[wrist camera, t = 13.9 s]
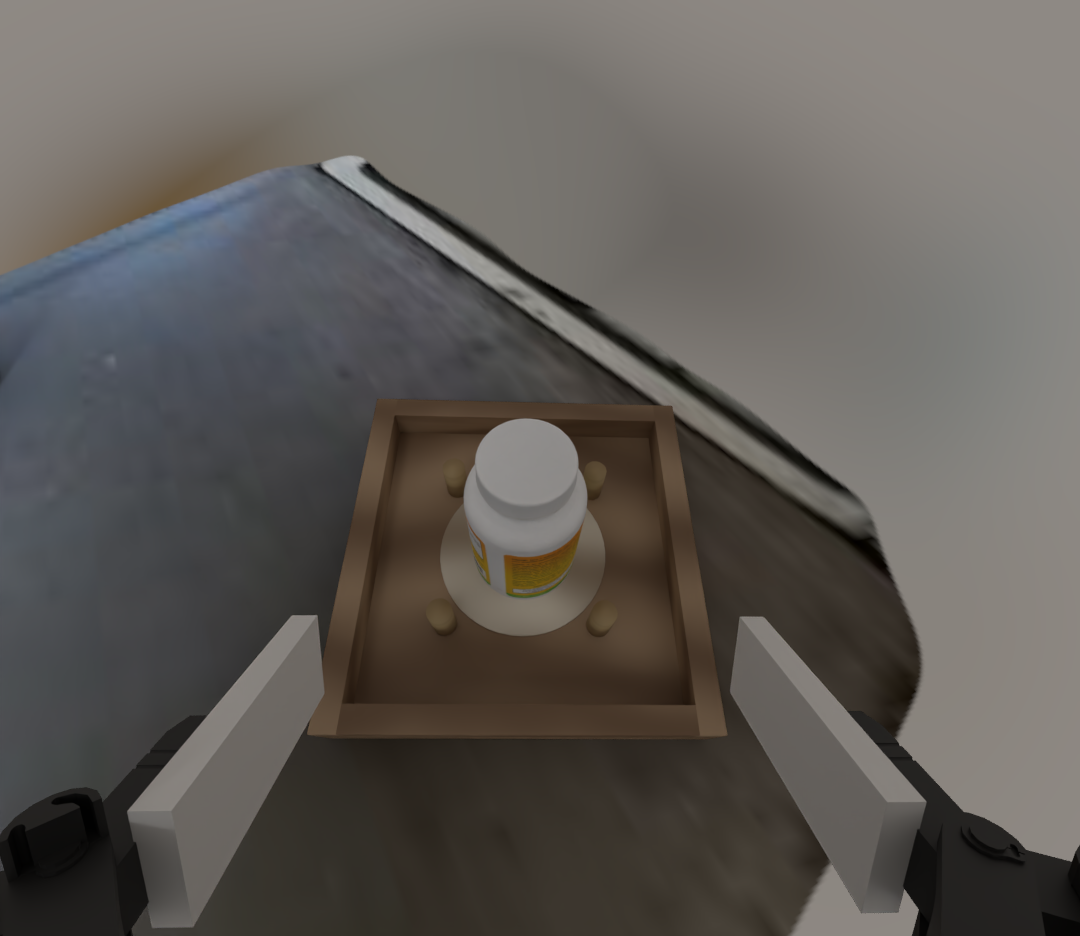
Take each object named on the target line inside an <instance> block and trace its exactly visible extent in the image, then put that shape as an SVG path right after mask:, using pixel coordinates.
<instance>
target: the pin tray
mask: <svg viewBox="0 0 1080 936" xmlns="http://www.w3.org/2000/svg"><path fill="white" fill-rule="evenodd" d="M525 418H526V419H537V420H541V421H545V422H548V423H550V424H552V425H554V426H556V427H558V428H559V429H560V430H562V431H563V432H564V433H565V434H566V435H567V436H568V437H569V438H570V440H571V441H572V443H573V445H574V446H575V449H576V451H577V455H578V468H579V470H580V472H581V473H582V476H583V478H584V481H585V484H586V488H587V509H586V514H585V518H584V522H583V526H582V530H581V534H580V537H579V541H578V545H577V549H576V553H575V557H574V561H573V564H572V567H571V569H570V571H569V573H568V575H567V577H566V578H565V580H564V581H563V582H562V583H561V584H560V585H559V586H558V587H557V588H556V589H555V590H553V591H552V592H550V593H549V594H547V595H544V596H542V597H539V598H535V599H527V600H522V599H513V598H509V597H506V596H504V595H501V594H499V593H498V592H496V591H495V590H493V589H492V588H491V587H490V586H489V585H488V584H487V583H486V582H485V581H484V580H483V578H482V577H481V575H480V573H479V571H478V569H477V566H476V563H475V560H474V555H473V550H472V545H471V539H470V536H469V529H468V525H467V520H466V515H465V510H464V488H465V484H466V480H467V478H468V475H469V473H470V471H471V469H472V468H473V466H474V465H475V457H476V452H477V449H478V447H479V445H480V443H481V441H482V440H483V438H484V437H485V436H486V435H487V434H488V433H489V432H490V431H491V430H492V429H494V428H495V427H497V426H498V425H501V424H503V423H505V422H508V421H511V420H515V419H525ZM322 670H323V681H324V692H325V693H324V695H323V697H322V699H321V701H320V702H319V704H318V706H317V708H316V709H315V711H314V713H313V715H312V717H311V718H310V722H309V727H308V732H307V735H312V736H318V737H324V738H385V739H711V738H717V737H723V736H727V730H726V724H725V718H724V712H723V706H722V700H721V694H720V688H719V682H718V676H717V670H716V664H715V658H714V652H713V646H712V640H711V634H710V629H709V623H708V617H707V611H706V605H705V599H704V593H703V587H702V581H701V575H700V569H699V563H698V557H697V551H696V545H695V539H694V533H693V527H692V521H691V515H690V509H689V503H688V498H687V492H686V486H685V480H684V474H683V468H682V462H681V456H680V450H679V444H678V438H677V432H676V426H675V420H674V414H673V408H672V406H655V405H614V404H573V403H531V402H490V401H449V400H408V399H377V403H376V408H375V413H374V418H373V422H372V427H371V432H370V437H369V441H368V446H367V451H366V456H365V460H364V465H363V470H362V475H361V480H360V484H359V489H358V494H357V499H356V503H355V508H354V513H353V518H352V522H351V527H350V532H349V537H348V541H347V546H346V551H345V556H344V560H343V565H342V570H341V575H340V580H339V584H338V589H337V594H336V599H335V603H334V608H333V613H332V618H331V622H330V627H329V632H328V637H327V641H326V646H325V651H324V656H323V660H322Z"/></svg>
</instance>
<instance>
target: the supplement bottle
mask: <svg viewBox="0 0 1080 936" xmlns="http://www.w3.org/2000/svg"><path fill="white" fill-rule="evenodd" d="M586 509H587V488H586V484H585V481H584V478H583V476H582V473H581V472H580V470H579V468H578V455H577V451H576V449H575V446H574V445H573V443H572V441H571V440H570V438H569V437H568V436H567V435H566V434H565V433H564V432H563V431H562V430H560V429H559V428H558V427H556V426H554V425H552V424H550V423H548V422H545V421H541V420H537V419H526V418H525V419H515V420H511V421H508V422H505V423H503V424H501V425H498V426H497V427H495V428H494V429H492V430H491V431H490V432H489V433H488V434H487V435H486V436H485V437H484V438H483V440H482V441H481V443H480V445H479V447H478V449H477V452H476V457H475V465H474V466H473V468H472V469H471V471H470V473H469V475H468V478H467V480H466V484H465V488H464V510H465V515H466V520H467V525H468V529H469V536H470V539H471V545H472V550H473V555H474V560H475V563H476V566H477V569H478V571H479V573H480V575H481V577H482V578H483V580H484V581H485V582H486V583H487V584H488V585H489V586H490V587H491V588H492V589H493V590H495V591H496V592H498V593H499V594H501V595H504V596H506V597H509V598H513V599H522V600H527V599H535V598H539V597H542V596H544V595H547V594H549V593H550V592H552V591H553V590H555V589H556V588H557V587H558V586H559V585H560V584H561V583H562V582H563V581H564V580H565V578H566V577H567V575H568V573H569V571H570V569H571V567H572V564H573V561H574V557H575V553H576V549H577V545H578V541H579V537H580V534H581V530H582V526H583V522H584V518H585V514H586Z"/></svg>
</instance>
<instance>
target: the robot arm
mask: <svg viewBox="0 0 1080 936" xmlns="http://www.w3.org/2000/svg"><path fill="white" fill-rule="evenodd" d="M324 693H325V692H324V681H323V670H322V660H321V649H320V638H319V627H318V616H317V615H292V616H291V617H290V618H289V619H288V621H287V622H286V623H285V624H284V625H283V627H282V628H281V629H280V630H279V631H278V633H277V634H276V635H275V636H274V637H273V638H272V640H271V641H270V642H269V643H268V644H267V646H266V647H265V648H264V649H263V650H262V652H261V653H260V654H259V655H258V656H257V658H256V659H255V660H254V661H253V662H252V663H251V665H250V666H249V667H248V668H247V669H246V671H245V672H244V673H243V674H242V675H241V677H240V678H239V679H238V680H237V681H236V682H235V684H234V685H233V686H232V687H231V688H230V690H229V691H228V692H227V693H226V694H225V696H224V697H223V698H222V699H221V700H220V701H219V703H218V704H217V705H216V706H215V707H214V709H213V710H212V711H211V712H210V713H209V715H208V716H189V717H188V718H186V719H185V720H183V721H182V722H180V723H179V724H177V725H176V726H175V727H173V728H172V729H170V730H169V731H167V732H166V733H165V735H164V736H163V737H162V738H161V739H160V740H159V741H158V742H157V743H156V744H155V746H154V747H153V748H152V749H151V751H150V753H149V754H146V755H145V757H144V758H143V759H142V760H141V761H140V762H139V763H138V764H137V767H136V769H133V770H132V771H131V772H130V773H129V774H128V775H127V776H126V777H125V778H124V780H123V781H122V782H121V783H120V784H119V785H118V786H117V787H116V788H115V789H114V791H113V792H112V793H111V794H110V795H109V796H108V797H107V798H106V799H105V800H104V802H102V798H101V796H100V795H99V793H98V791H97V790H93V789H90V788H87V787H86V788H76V789H69V790H66V791H63V792H60V793H57V794H54V795H51V796H49V797H47V798H45V799H43V800H41V801H39V802H37V803H36V804H34V805H32V806H31V807H29V808H28V809H26V810H25V811H24V812H22V813H21V814H19V815H18V816H17V817H15V818H14V819H13V820H12V822H11V823H10V824H9V825H8V826H7V827H6V828H5V829H4V830H3V831H2V833H1V835H0V857H1V861H2V864H3V867H4V871H1V872H0V936H133V934H132V930H131V928H132V927H133V925H134V924H135V922H136V921H137V919H138V918H139V916H140V915H141V913H142V912H143V910H144V909H145V907H146V906H147V907H148V912H149V916H150V921H151V926H152V928H177V927H194V925H195V923H196V921H197V920H198V918H199V916H200V914H201V912H202V911H203V909H204V907H205V905H206V904H207V902H208V900H209V898H210V896H211V895H212V893H213V891H214V889H215V888H216V886H217V884H218V882H219V880H220V879H221V877H222V875H223V873H224V872H225V870H226V868H227V866H228V864H229V863H230V861H231V859H232V857H233V856H234V854H235V852H236V850H237V848H238V847H239V845H240V843H241V841H242V839H243V838H244V836H245V834H246V832H247V831H248V829H249V827H250V825H251V823H252V822H253V820H254V818H255V816H256V815H257V813H258V811H259V809H260V807H261V806H262V804H263V802H264V800H265V799H266V797H267V795H268V793H269V791H270V790H271V788H272V786H273V784H274V782H275V781H276V779H277V777H278V775H279V774H280V772H281V770H282V768H283V766H284V765H285V763H286V761H287V759H288V758H289V756H290V754H291V752H292V750H293V749H294V747H295V745H296V743H297V742H298V740H299V738H300V736H301V734H302V733H303V731H304V729H305V727H306V725H307V724H308V722H309V720H310V718H311V717H312V715H313V713H314V711H315V709H316V708H317V706H318V704H319V702H320V701H321V699H322V697H323V695H324ZM730 693H731V695H732V697H733V698H734V700H735V702H736V703H737V705H738V707H739V708H740V710H741V712H742V713H743V715H744V717H745V718H746V720H747V722H748V723H749V725H750V727H751V729H752V730H753V732H754V734H755V735H756V737H757V739H758V740H759V742H760V744H761V745H762V747H763V749H764V750H765V752H766V754H767V755H768V757H769V759H770V760H771V762H772V764H773V765H774V767H775V769H776V771H777V772H778V774H779V776H780V777H781V779H782V781H783V782H784V784H785V786H786V787H787V789H788V791H789V792H790V794H791V796H792V797H793V799H794V801H795V802H796V804H797V806H798V808H799V809H800V811H801V813H802V814H803V816H804V818H805V819H806V821H807V823H808V824H809V826H810V828H811V829H812V831H813V833H814V834H815V836H816V838H817V839H818V841H819V843H820V845H821V846H822V848H823V850H824V851H825V853H826V855H827V856H828V858H829V860H830V861H831V863H832V865H833V866H834V868H835V870H836V871H837V873H838V875H839V876H840V878H841V880H842V881H843V883H844V885H845V886H846V888H847V890H848V892H849V893H850V895H851V897H852V898H853V900H854V902H855V903H856V905H857V907H858V908H859V910H860V911H861V913H892V912H898V911H899V907H900V903H901V900H902V896H903V891H904V889H905V890H906V891H907V893H908V894H909V896H910V897H911V899H912V900H913V902H914V903H915V904H916V906H917V907H918V909H919V912H918V915H917V920H916V923H915V927H914V930H913V934H912V936H1080V846H1079V847H1078V849H1077V851H1076V852H1075V855H1074V858H1073V861H1072V862H1070V861H1066V860H1062V859H1058V858H1055V857H1051V856H1047V855H1043V854H1039V853H1035V852H1032V851H1028V850H1026V849H1025V848H1024V847H1023V846H1022V845H1021V844H1020V843H1019V841H1018V840H1017V839H1015V838H1014V837H1013V836H1012V835H1010V834H1009V833H1008V832H1006V831H1005V830H1004V829H1003V828H1001V827H999V826H998V825H996V824H994V823H992V822H990V821H989V820H987V819H985V818H982V817H979V816H976V815H973V814H971V813H966V812H963V811H962V810H961V809H960V808H959V806H957V804H956V803H955V802H954V801H953V800H952V799H951V798H950V797H949V796H948V795H947V794H946V793H945V792H944V791H943V790H942V788H940V786H939V785H938V784H937V783H936V782H935V781H934V780H933V779H932V778H931V777H930V776H929V775H928V774H927V772H926V771H925V770H924V769H923V768H922V767H921V766H920V765H919V764H918V763H917V762H916V761H913V760H912V756H911V755H910V754H908V752H907V751H906V750H905V749H904V748H903V747H902V746H899V743H898V742H897V741H896V739H895V738H894V737H893V736H892V735H891V734H890V733H889V732H888V731H887V730H886V729H885V728H884V727H883V726H882V725H881V724H879V723H878V722H876V721H875V720H873V719H872V718H870V717H869V716H867V715H866V714H864V713H863V712H862V711H846V710H845V709H844V708H843V706H842V705H841V704H840V703H839V702H838V701H837V700H836V698H835V697H834V696H833V695H832V694H831V693H830V692H829V690H828V689H827V688H826V687H825V686H824V685H823V684H822V683H821V681H820V680H819V679H818V678H817V677H816V676H815V675H814V673H813V672H812V671H811V670H810V669H809V668H808V667H807V666H806V664H805V663H804V662H803V661H802V660H801V659H800V658H799V656H798V655H797V654H796V653H795V652H794V651H793V650H792V648H791V647H790V646H789V645H788V644H787V643H786V642H785V641H784V639H783V638H782V637H781V636H780V635H779V634H778V633H777V631H776V630H775V629H774V628H773V627H772V626H771V625H770V624H769V622H768V621H767V620H766V619H765V618H764V617H740V619H739V627H738V634H737V642H736V649H735V657H734V664H733V672H732V679H731V687H730Z"/></svg>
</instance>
